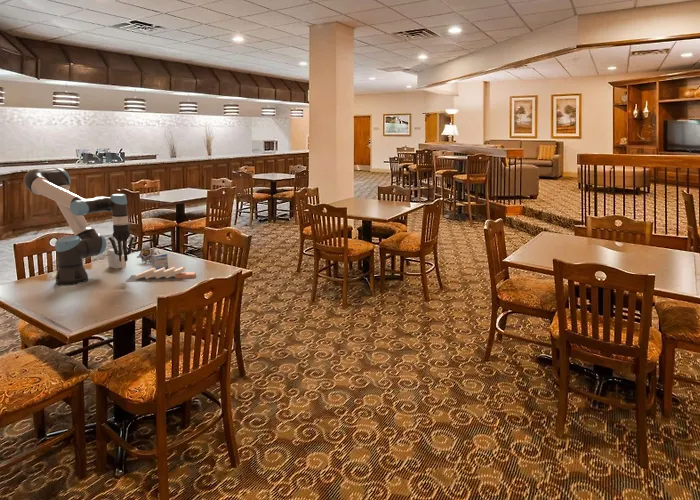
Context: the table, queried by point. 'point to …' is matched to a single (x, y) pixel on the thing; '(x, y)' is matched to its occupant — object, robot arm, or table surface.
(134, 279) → the domino mat
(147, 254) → the passion flower
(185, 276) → the terracotta domino
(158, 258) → the medicine box
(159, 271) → the domino
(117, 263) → the small box
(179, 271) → the domino
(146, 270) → the domino
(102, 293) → the table surface
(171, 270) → the domino
